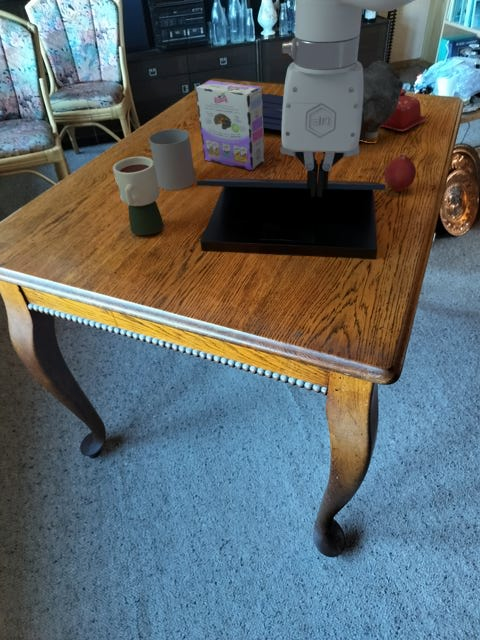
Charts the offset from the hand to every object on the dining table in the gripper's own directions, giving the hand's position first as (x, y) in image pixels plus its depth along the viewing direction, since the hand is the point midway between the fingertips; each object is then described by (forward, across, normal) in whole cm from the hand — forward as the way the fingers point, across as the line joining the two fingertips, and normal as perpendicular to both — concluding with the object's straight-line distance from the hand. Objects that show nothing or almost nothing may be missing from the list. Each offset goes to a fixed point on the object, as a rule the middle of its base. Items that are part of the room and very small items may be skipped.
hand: (316, 192), depth 68 cm
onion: (+13, +15, +27) cm, 34 cm away
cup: (+14, -32, +29) cm, 45 cm away
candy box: (+14, -21, +40) cm, 47 cm away
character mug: (+14, -32, +9) cm, 36 cm away
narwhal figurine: (+14, +8, +51) cm, 53 cm away
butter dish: (+14, +17, +63) cm, 67 cm away
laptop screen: (+7, -5, +15) cm, 17 cm away
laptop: (+13, -5, +14) cm, 20 cm away
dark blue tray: (+14, -14, +66) cm, 69 cm away
